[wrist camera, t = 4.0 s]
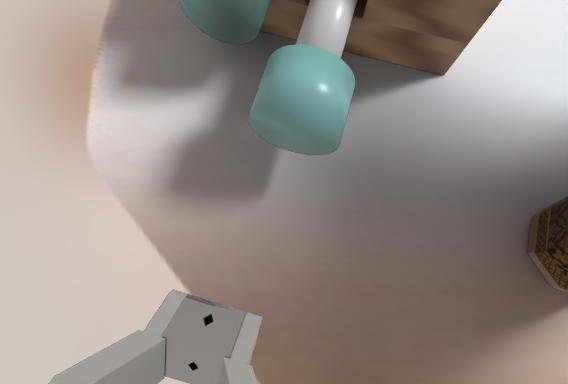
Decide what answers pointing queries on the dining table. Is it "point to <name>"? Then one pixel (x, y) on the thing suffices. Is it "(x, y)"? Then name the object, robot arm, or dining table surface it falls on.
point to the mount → (357, 26)
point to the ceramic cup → (551, 244)
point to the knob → (308, 84)
